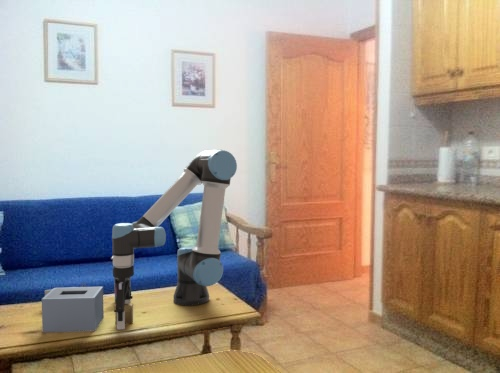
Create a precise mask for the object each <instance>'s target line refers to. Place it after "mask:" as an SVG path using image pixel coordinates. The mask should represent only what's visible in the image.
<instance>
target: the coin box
mask: <svg viewBox="0 0 500 373" xmlns="http://www.w3.org/2000/svg"><path fill="white" fill-rule="evenodd" d="M50 290H51V289H50ZM104 311H105V310H104V286H85V287H82V286H72V287H71V286H69V287H54V288H52V290H51V291H50V292H49V293H48V294H47V295H46V296H45V295H44V297H42V298H41V322H42V323H41V324H42V325H41V326H42V328H41V329H42V333H70V332H72V333H73V332H95V331H96V330H97V329H98V327H99V325H100V324H101V322H102V320H103V319H104V318H105V317H104V314H105V313H104Z"/></svg>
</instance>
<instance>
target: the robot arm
mask: <svg viewBox="0 0 500 373" xmlns="http://www.w3.org/2000/svg"><path fill="white" fill-rule="evenodd" d="M237 168H238V165H237V160H236V158H235V157H234V155H233V154H232V153H231V152H230V151H228V150H223V149H205V150H203V151H201V152H199V153H198V154H196V155H195V157H194V158H193V159H192V160H191V161H190V162H188V164H187V165H186V166H185V167H184V168H183V173H182V174H181V175H180V176H179V177H178V178H177V179H176V180H175V181H174V182H173V183H172V185H171V186H170V187H169V188H168V189H167V190H165V191H164V193H163V194H161V196H160V197H159V198H158V199H157V201H155V202H154V203H153V205H151V206H150V208H149V209H148V210H147V211H146V212H144V214H143V215H142V216H141V217H140V218H139V219H138V220H137V221H133V222H132V223H130V222H120V223H115V224H114V225H113V226H112V229H111V230H112V231H111V232H112V234H111V242H112V247H111V248H112V256H111V257H110V260H112V265H113V267H112V276H113V278H114V277H115V278H118V279H119V281H118V282H117V295H116V302H115V305H116V310H115V309H114V311H113V312H114V313H115V312H117V325H116V330H118V331H119V330H125V329H126V324H125V311H124V305H125V304H130V303H131V300H133V298H134V297H133V295H132V287H131V286H132V285H131V286H130V277H131V278H132V277H133V276H134V275H135V266H134V263H135V252H134V250H135V249H144V248H157V247H163V246H164V245H165V244H166V239H167V234H166V230H165V228H164V227H163V226H160V225H162V223H163V222H164V221H165V220H167V218H168V217H169V215H171V213H172V212H173V211H174V210H175V209H176V208H177V207H178V206H179V205H180V204H181V203H182V202H183V201H184V200H185V199H186V198H187V197H188V195H190V193H191V192H192V191H193V190H194V189H195V187H197V186H200V185H203V194H202V201H201V208H200V214H199V215H200V217H199V224H198V230H197V239H196V245H195V246H185V247H180V248H179V249H177V253H176V254H177V255H176V257H177V258H176V259H177V261H176V262H177V265H176V266H177V267H176V268H177V270H176V271H177V284H176V286H175V290H174V293H173V302H174V303H175V304H176V305H179V306H198V305H200V306H201V305H203V304H207V303H208V302H209V301H210V293H209V290H208V287H212V286H214V285H215V284H216V283H218V282H220V280H221V278H222V276H223V273H224V266H223V264H222V262H221V255H222V253H221V252H222V251H221V250H220V249H219V239H220V233H221V226H222V218H223V210H224V202H225V195H226V190H227V188H228V187H230V185H231V179H232V178H233V177H234V175H235V174H236V173H237V170H238V169H237ZM129 299H131V300H129Z"/></svg>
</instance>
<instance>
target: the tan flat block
mask: <svg viewBox="0 0 500 373" xmlns="http://www.w3.org/2000/svg"><path fill="white" fill-rule="evenodd" d="M114 310H116V304H115V306H114ZM124 311H125V325H133V323H134V303H130V304H125V305H124ZM114 313H115V314H114V316H115V320H114V321H115V325H116V326H117V312H114Z"/></svg>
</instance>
